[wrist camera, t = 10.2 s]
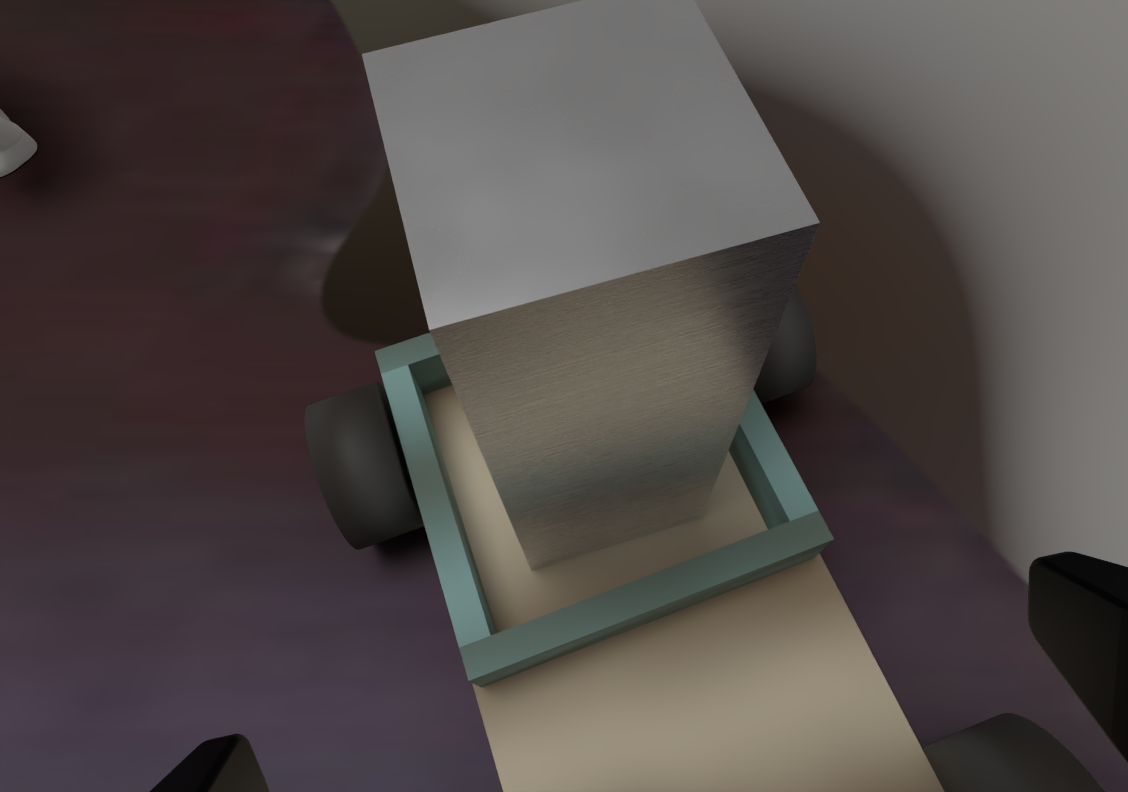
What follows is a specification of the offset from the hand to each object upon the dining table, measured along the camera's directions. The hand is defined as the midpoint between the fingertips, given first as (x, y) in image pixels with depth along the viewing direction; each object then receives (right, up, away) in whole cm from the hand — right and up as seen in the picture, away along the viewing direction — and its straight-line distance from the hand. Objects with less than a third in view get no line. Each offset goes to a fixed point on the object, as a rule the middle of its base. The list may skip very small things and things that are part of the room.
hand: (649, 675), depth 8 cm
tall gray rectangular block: (0, +1, +14) cm, 14 cm away
